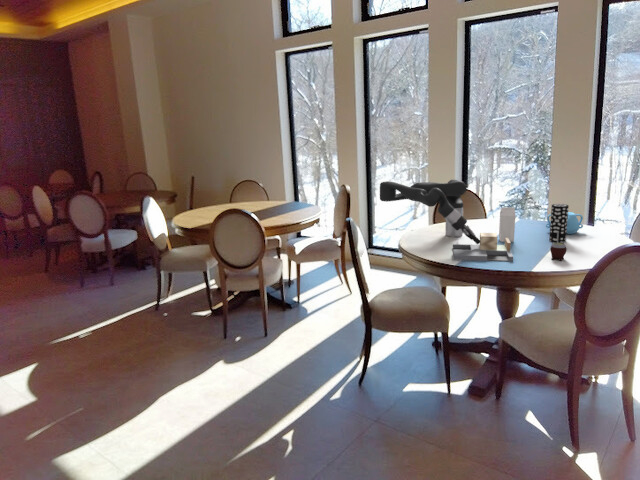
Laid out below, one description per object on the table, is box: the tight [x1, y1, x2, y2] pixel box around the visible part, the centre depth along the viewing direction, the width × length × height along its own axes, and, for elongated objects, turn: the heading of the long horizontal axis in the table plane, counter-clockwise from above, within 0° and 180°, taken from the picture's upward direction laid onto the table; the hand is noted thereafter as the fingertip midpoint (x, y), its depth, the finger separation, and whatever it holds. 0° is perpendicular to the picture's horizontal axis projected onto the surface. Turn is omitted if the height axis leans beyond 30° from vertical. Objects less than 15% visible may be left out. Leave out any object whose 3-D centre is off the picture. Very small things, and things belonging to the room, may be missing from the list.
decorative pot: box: [545, 209, 584, 235], centre depth 293 cm, size 16×16×14 cm
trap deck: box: [452, 238, 514, 262], centre depth 255 cm, size 28×22×6 cm
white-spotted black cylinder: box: [548, 203, 570, 243], centre depth 274 cm, size 8×8×20 cm
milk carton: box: [498, 206, 516, 243], centre depth 280 cm, size 7×7×19 cm
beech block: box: [479, 232, 498, 250], centre depth 258 cm, size 8×8×7 cm
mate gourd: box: [549, 232, 568, 262], centre depth 241 cm, size 8×8×15 cm
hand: (479, 242), depth 259 cm, fingers closed
